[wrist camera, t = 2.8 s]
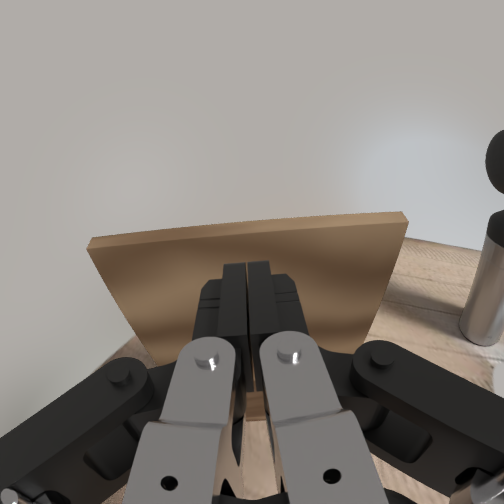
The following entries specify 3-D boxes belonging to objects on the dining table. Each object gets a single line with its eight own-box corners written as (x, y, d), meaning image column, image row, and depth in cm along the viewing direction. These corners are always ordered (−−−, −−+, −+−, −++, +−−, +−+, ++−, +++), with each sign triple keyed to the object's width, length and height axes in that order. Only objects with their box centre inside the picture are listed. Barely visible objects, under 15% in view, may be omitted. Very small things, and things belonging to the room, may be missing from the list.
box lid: (348, 360, 28) (350, 368, 27) (171, 374, 28) (170, 383, 27) (401, 211, 16) (408, 221, 15) (92, 237, 16) (86, 249, 15)
